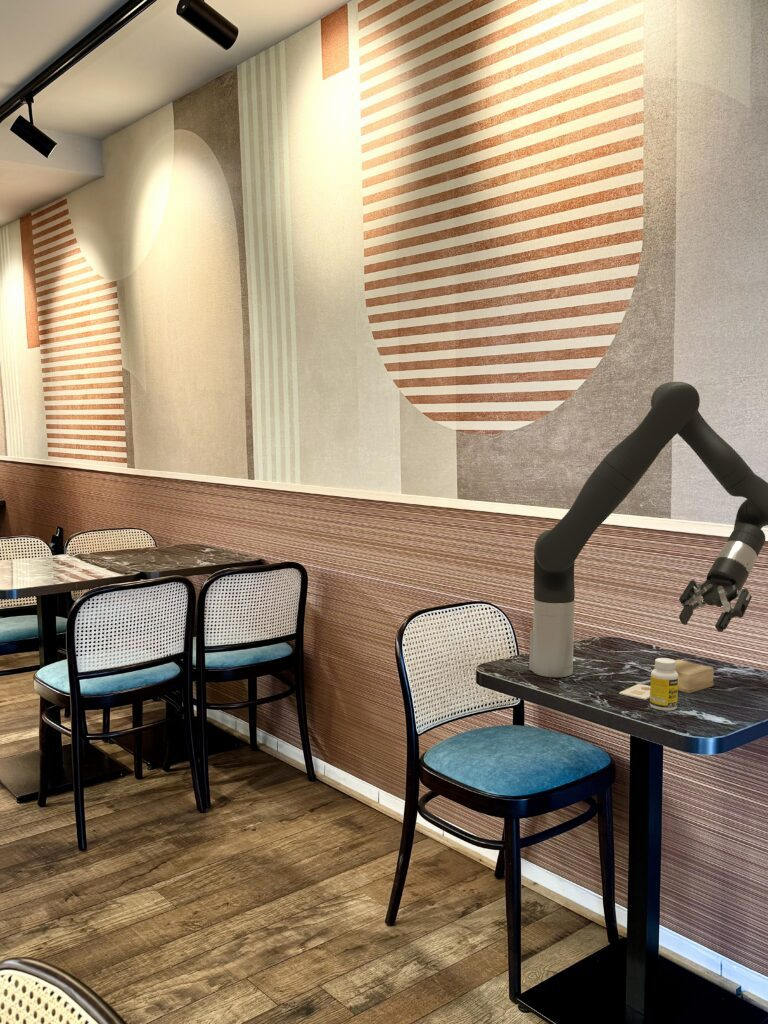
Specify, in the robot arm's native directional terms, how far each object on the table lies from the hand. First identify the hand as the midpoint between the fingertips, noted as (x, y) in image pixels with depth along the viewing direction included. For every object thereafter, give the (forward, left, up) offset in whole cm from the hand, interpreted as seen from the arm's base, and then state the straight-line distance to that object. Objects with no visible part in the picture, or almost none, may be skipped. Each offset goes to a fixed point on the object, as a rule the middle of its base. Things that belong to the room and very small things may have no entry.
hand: (700, 625), depth 189 cm
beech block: (-7, +5, -15) cm, 18 cm away
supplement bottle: (0, -12, -16) cm, 19 cm away
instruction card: (-9, -7, -15) cm, 19 cm away
